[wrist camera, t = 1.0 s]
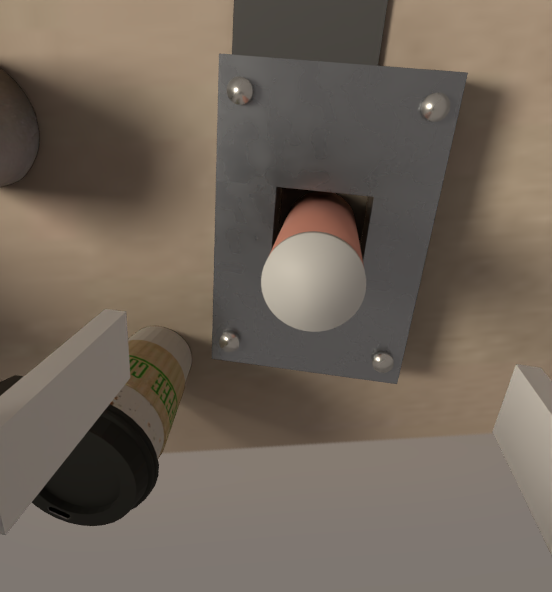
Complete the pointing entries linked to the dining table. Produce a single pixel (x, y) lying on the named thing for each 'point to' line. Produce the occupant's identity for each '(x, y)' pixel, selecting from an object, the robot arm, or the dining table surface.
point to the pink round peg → (315, 265)
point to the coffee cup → (123, 437)
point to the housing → (328, 178)
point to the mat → (310, 29)
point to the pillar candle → (16, 132)
